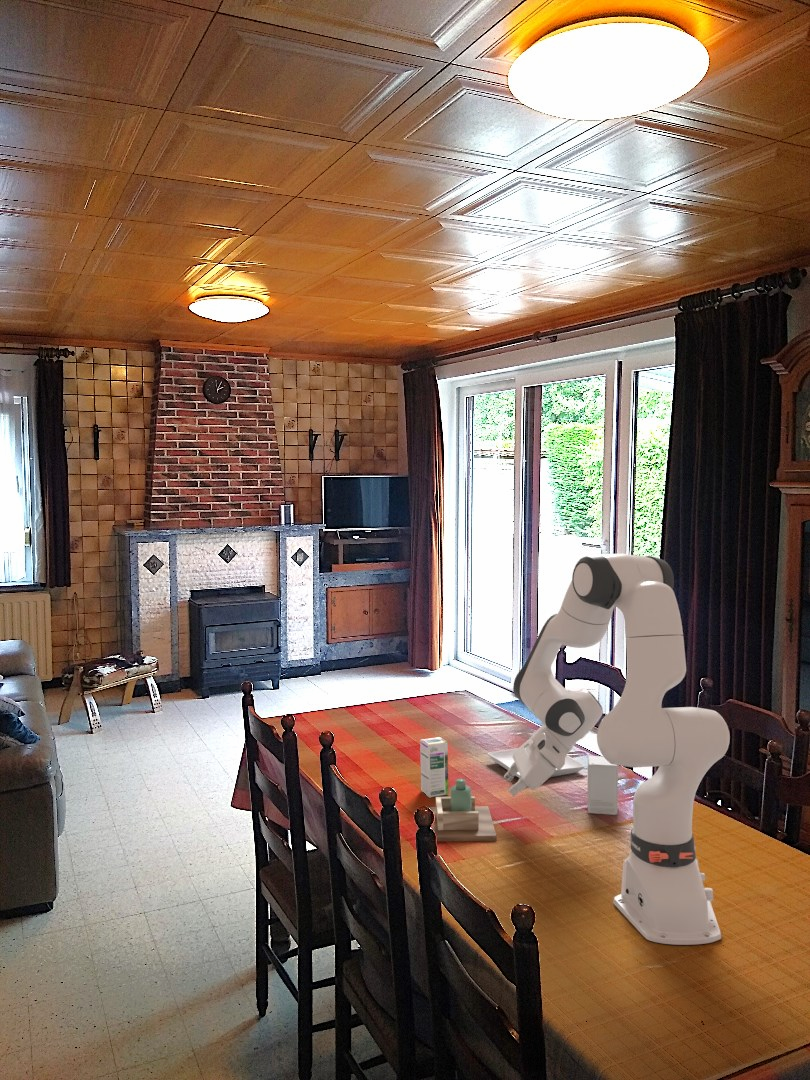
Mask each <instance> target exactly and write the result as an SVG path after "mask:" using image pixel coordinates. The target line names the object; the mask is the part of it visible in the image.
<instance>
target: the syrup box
mask: <svg viewBox="0 0 810 1080" xmlns="http://www.w3.org/2000/svg"><path fill="white" fill-rule="evenodd" d="M419 745H420V746H419V747H420V748H419V750H420V751H419V752H420V784H421V785H420V788H421V789H420V790H421V792H422V793H423V792H424V793H425V794H426V795H425V794H424V793H423V794H424V795H425V796H427V798H429V799H431V798H436V797H443V796H448V795H449V792H450V791H449V790H450V789H449V749H448V748H449V747H448V746H449V743H448V741H447V740H446V739H444V738H442V737H440V736H437V737H431V738H425V739H424V738H423V739H422V738H421V739H419Z"/></svg>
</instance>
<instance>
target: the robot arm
mask: <svg viewBox="0 0 810 1080" xmlns="http://www.w3.org/2000/svg"><path fill="white" fill-rule="evenodd" d="M674 577H675V576H674V573H673V570H672V568H671V566H670V565H669V563H668V562H667V561H666V560H664V559H662V558H659V557H656V556H651V555H647V556H642V555H638V554H637V555H635V554H627V553H608V554H607V553H605V554H601V553H595V554H590V555H586V556H583V557H581V558H580V559H579V560H578V561H577V562H576V564H575V566H574V569H573V571H572V576H571V582H570V583H569V585H568V588H567V589H566V592H565V594H564V598H563V600H562V604H561V605H560V609H559V611H558V612H557V613H554V614H552V615H551V616H550V617H549V618H547V620H546V621H545V623H544V625H543V626H542V628H541V630H540V632H539V633H538V636H537V637H536V640H535V643H534V644H533V646H532V649H531V650H530V653H529V655H528V657H527V659H526V660H525V663H524V664H523V666H522V667H521V669H520V670H519V671H518V673H517V674H516V676H515V678H514V681H513V686H512V687H513V688H512V690H513V694H514V696H515V697H516V698H517V699H518V700H519V701H520V702H521V703H522V705H525V706H526V707H527V708H528V710H529V711H530V712H531V713H532V714H533V715H534V717H536V718H537V719H538V721H540V723H541V724H542V725H541V726H540V727H539V728H538V729H537V730H535V732H534V733H533V734H532V735H531V736H530V738H529V739H527V740H526V741H525V742H524V743H523V744H522V745H520V746H519V747H517V748H518V749H517V750H516V751H515V752H514V754H513V756H512V757H513V759H514V761H515V762H514V763H513V764H512V765H511V767H510V768H509V770H507V772H506V773H505V774H504V775H503V779H504V780H505V781H506V782H507V783H511V781H513V780H514V778H515V777H516V776H515V775H516V773H517V772H519V773H520V776H521V778H520V779H519V778H518V780H517V782H515V783H514V784H511V785H510V787H508V792H509V793H510V794H511V795H512V796H513V797H514V796H517V794H518V793H519V792H521V791H523V790H525V789H527V787H528V788H529V789H531V790H536V789H538V788H539V787H540V786H542V785H543V784H544V783H545V782H546V781H547V780H549V778H551V777H550V776H551V775H552V774H553V773H554V772H555V770H556V768H557V769H558V770H560V769H561V768H562V767H563V766H564V764H565V758H566V756H567V755H568V753H570V752H571V750H572V749H573V748H574V746H575V744H576V743H578V742H579V741H580V740H582V739H583V738H585V737H586V736H587V734H588V733H589V732H591V730H592V729H594V727H595V725H596V724H597V723H599V721H600V719H601V718H602V719H601V721H600V723H599V724H598V728H597V731H596V743H597V746H598V749H599V751H600V753H601V755H602V756H604V758H605V759H606V760H607V761H608V762H609V763H611V764H614V765H618V766H621V767H627V768H651V767H658V768H657V770H656V772H655V773H654V774H653V775H652V776H651V777H649V778H648V779H647V780H645V781H644V782H642V783H640V785H638V787H637V788H636V790H635V792H634V795H633V800H632V802H633V804H632V806H633V807H632V814H633V815H632V820H633V821H632V822H633V824H632V829H631V831H630V836H629V841H630V850H631V851H630V853H629V854H628V856H627V857H626V858H625V859H624V861H623V862H622V873H621V874H622V876H621V891H620V892H621V893H620V894H616V895H615V896H614V897H613V905H614V906H615V907H616V908H617V909H618V911H620V912H621V914H622V915H623V916H624V917H625V918H626V919H627V920H628V921H629V922H630V923H631V924H632V926H634V928H635V929H636V930H637V931H638V932H639V933H640V934H641V935H642V937H644V938H645V940H648V941H650V942H653V943H657V944H658V943H659V944H664V945H675V946H676V945H679V946H680V945H681V946H683V945H685V946H689V945H692V946H693V945H703V944H711V943H714V942H718V941H719V940H721V939H722V933H721V929H720V927H719V923H718V920H717V917H716V914H715V912H714V908H713V905H712V902H713V901H714V890H713V888H712V887H704V886H705V885H704V882H703V881H706V874H705V873H704V872H700V871H701V870H700V867H699V860H698V858H697V856H696V855H697V854H696V843H695V837H694V834H692V833H693V831H692V829H693V811H694V802H695V796H696V793H697V790H698V789H699V785H700V783H701V782H702V780H703V778H704V777H705V775H706V773H707V772H708V771H709V770H710V769H711V767H712V766H713V765H715V763H717V762H718V761H719V760H721V759H722V758H723V757H724V756H725V755H726V753H727V751H728V749H729V747H730V746H729V745H730V740H731V739H730V738H731V736H730V729H729V726H728V724H727V722H726V721H725V719H724V718H723V716H722V715H721V714H720V713H719V712H717V711H716V710H713V709H709V708H702V707H695V706H684V707H683V706H682V707H663V706H662V705H663V704H662V703H663V699H664V696H665V694H666V693H667V692H668V691H670V690H671V689H673V688H674V687H676V686H678V684H680V683H681V682H682V681H683V679H684V678H685V677H686V674H687V662H686V661H687V660H686V651H685V640H684V632H683V625H682V624H683V623H682V618H681V613H680V609H679V604H678V600H677V597H676V595H675V594H676V593H675V591H674V586H675V585H674V584H675V578H674ZM615 607H616V608H617V609H619V610H620V611H621V612H622V614H623V619H624V633H625V644H626V645H625V647H626V648H625V650H626V668H627V669H626V679H625V685H624V688H623V691H622V693H621V696H620V698H619V700H618V701H617V703H616V704H615V705H614V707H613V708H612V709H611V710H610V711H609V712H608V713H607V714H606V715H604V716H603V713H604V710H603V707H602V705H601V703H600V702H599V700H597V698H596V697H595V695H593V693H592V692H590V691H589V690H588V689H586V688H582V689H580V690H579V691H575V690H570V689H567V688H566V687H564V686H563V685H562V684H561V683H560V682H559V681H558V679H556V677H555V676H554V674H553V671H552V665H553V663H554V662H555V659H556V657H557V655H558V653H559V651H560V648H561V647H562V645H563V646H566V647H569V648H575V649H585V648H590V647H593V646H595V645H596V644H598V643H599V642H601V641H602V639H603V638H604V636H605V635H606V633H607V631H608V628H609V626H610V625H609V624H610V621H611V619H612V615H613V612H614V608H615ZM602 716H603V717H602Z"/></svg>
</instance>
